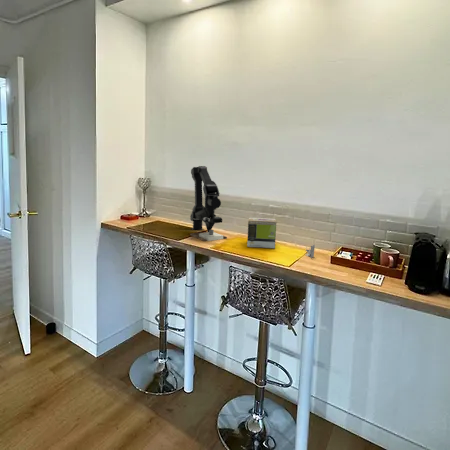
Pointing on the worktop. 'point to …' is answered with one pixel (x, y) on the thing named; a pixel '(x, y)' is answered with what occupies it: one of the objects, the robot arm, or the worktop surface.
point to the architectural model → (310, 251)
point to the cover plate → (211, 235)
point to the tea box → (261, 232)
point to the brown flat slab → (202, 238)
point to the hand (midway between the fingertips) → (208, 232)
